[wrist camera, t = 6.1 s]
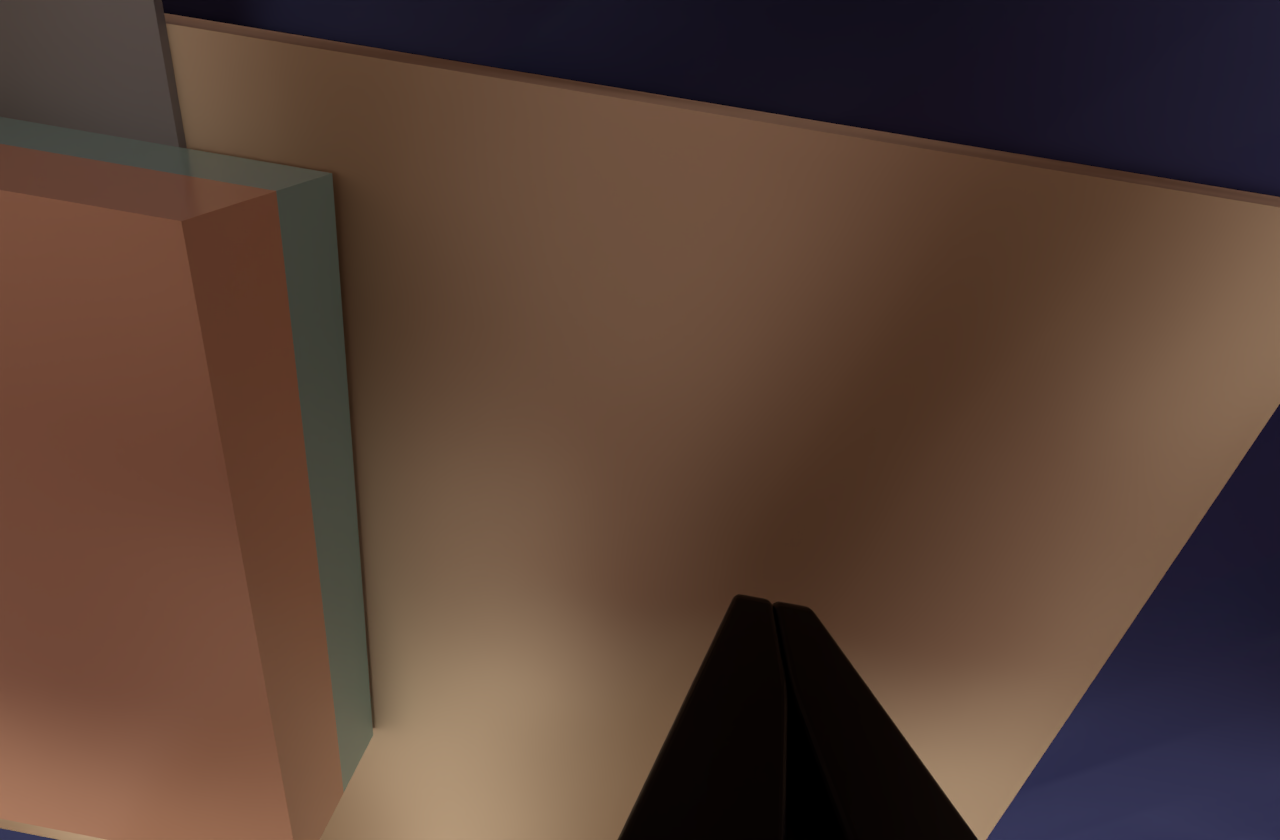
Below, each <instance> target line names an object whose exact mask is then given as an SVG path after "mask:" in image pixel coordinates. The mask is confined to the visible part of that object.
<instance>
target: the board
mask: <svg viewBox="0 0 1280 840" xmlns="http://www.w3.org/2000/svg"><path fill="white" fill-rule="evenodd" d="M0 117H5V118H11V119H17V120H23V121H28V122H34V123H40V124H46V125H52V126H58V127H64V128H70V129H75V130H81V131H87V132H93V133H99V134H105V135H111V136H117V137H122V138H128V139H134V140H140V141H146V142H152V143H158V144H164V145H170V146H175V147H181V148H187V149H193V150H199V151H205V152H211V153H217V154H222V155H228V156H234V157H240V158H246V159H252V160H258V161H264V162H269V163H275V164H281V165H287V166H293V167H299V168H305V169H311V170H316V171H322V172H328V173H332V177H333V191H334V205H335V218H336V232H337V246H338V259H339V273H340V287H341V301H342V314H343V328H344V342H345V355H346V369H347V383H348V397H349V410H350V424H351V438H352V451H353V465H354V479H355V493H356V506H357V520H358V534H359V548H360V561H361V575H362V589H363V602H364V616H365V630H366V644H367V657H368V671H369V685H370V698H371V712H372V726H373V736H372V738H371V740H370V742H369V744H368V746H367V748H366V750H365V752H364V754H363V756H362V758H361V760H360V762H359V764H358V766H357V768H356V770H355V772H354V774H353V776H352V778H351V779H350V781H349V783H348V785H347V787H346V789H345V791H344V793H343V795H342V797H341V799H340V801H339V803H338V805H337V807H336V809H335V811H334V813H333V815H332V817H331V819H330V821H329V822H328V824H327V826H326V828H325V830H324V832H323V834H322V836H321V838H320V840H617V839H618V837H619V835H620V833H621V831H622V829H623V827H624V825H625V822H626V820H627V818H628V816H629V814H630V812H631V810H632V808H633V806H634V804H635V802H636V799H637V797H638V795H639V793H640V791H641V789H642V787H643V785H644V783H645V781H646V779H647V776H648V774H649V772H650V770H651V768H652V766H653V764H654V762H655V760H656V758H657V756H658V753H659V751H660V749H661V747H662V745H663V743H664V741H665V739H666V737H667V735H668V733H669V730H670V728H671V726H672V724H673V722H674V720H675V718H676V716H677V714H678V712H679V709H680V707H681V705H682V703H683V701H684V699H685V697H686V695H687V693H688V691H689V689H690V686H691V684H692V682H693V680H694V678H695V676H696V674H697V672H698V670H699V668H700V666H701V663H702V661H703V659H704V657H705V655H706V653H707V651H708V649H709V647H710V645H711V643H712V640H713V638H714V636H715V634H716V632H717V630H718V628H719V626H720V624H721V622H722V620H723V617H724V615H725V613H726V611H727V609H728V607H729V605H730V603H731V601H732V599H733V597H734V596H735V595H737V594H742V595H748V596H753V597H758V598H764V599H767V600H769V601H770V602H771V603H772V604H773V603H775V602H777V601H780V602H786V603H791V604H797V605H802V606H806V607H809V608H810V609H812V610H813V611H814V612H815V614H816V615H817V616H818V618H819V619H820V621H821V622H822V623H823V625H824V626H825V628H826V629H827V630H828V632H829V633H830V634H831V636H832V637H833V639H834V640H835V641H836V643H837V644H838V646H839V647H840V648H841V650H842V651H843V653H844V654H845V655H846V657H847V658H848V659H849V661H850V662H851V664H852V665H853V666H854V668H855V669H856V671H857V672H858V673H859V675H860V676H861V678H862V679H863V680H864V682H865V683H866V684H867V686H868V687H869V689H870V690H871V691H872V693H873V694H874V696H875V697H876V698H877V700H878V701H879V703H880V704H881V705H882V707H883V708H884V709H885V711H886V712H887V714H888V715H889V716H890V718H891V719H892V721H893V722H894V723H895V725H896V726H897V728H898V729H899V730H900V732H901V733H902V734H903V736H904V737H905V739H906V740H907V741H908V743H909V744H910V746H911V747H912V748H913V750H914V751H915V753H916V754H917V755H918V757H919V758H920V759H921V761H922V762H923V764H924V765H925V766H926V768H927V769H928V771H929V772H930V773H931V775H932V776H933V778H934V779H935V780H936V782H937V783H938V784H939V786H940V787H941V789H942V790H943V791H944V793H945V794H946V796H947V797H948V798H949V800H950V801H951V803H952V804H953V805H954V807H955V808H956V810H957V811H958V812H959V814H960V815H961V816H962V818H963V819H964V821H965V822H966V823H967V825H968V826H969V828H970V829H971V830H972V832H973V833H974V835H975V836H976V837H977V839H978V840H986V839H987V837H988V836H989V834H990V833H991V831H992V830H993V828H994V827H995V825H996V824H997V822H998V821H999V819H1000V818H1001V817H1002V815H1003V814H1004V812H1005V811H1006V809H1007V808H1008V806H1009V805H1010V803H1011V802H1012V800H1013V799H1014V797H1015V796H1016V794H1017V793H1018V791H1019V790H1020V788H1021V787H1022V785H1023V784H1024V782H1025V781H1026V779H1027V778H1028V776H1029V775H1030V773H1031V772H1032V771H1033V769H1034V768H1035V766H1036V765H1037V763H1038V762H1039V760H1040V759H1041V757H1042V756H1043V754H1044V753H1045V751H1046V750H1047V748H1048V747H1049V745H1050V744H1051V742H1052V741H1053V739H1054V738H1055V736H1056V735H1057V733H1058V732H1059V730H1060V729H1061V727H1062V726H1063V725H1064V723H1065V722H1066V720H1067V719H1068V717H1069V716H1070V714H1071V713H1072V711H1073V710H1074V708H1075V707H1076V705H1077V704H1078V702H1079V701H1080V699H1081V698H1082V696H1083V695H1084V693H1085V692H1086V690H1087V689H1088V687H1089V686H1090V684H1091V683H1092V681H1093V680H1094V679H1095V677H1096V676H1097V674H1098V673H1099V671H1100V670H1101V668H1102V667H1103V665H1104V664H1105V662H1106V661H1107V659H1108V658H1109V656H1110V655H1111V653H1112V652H1113V650H1114V649H1115V647H1116V646H1117V644H1118V643H1119V641H1120V640H1121V638H1122V637H1123V635H1124V634H1125V633H1126V631H1127V630H1128V628H1129V627H1130V625H1131V624H1132V622H1133V621H1134V619H1135V618H1136V616H1137V615H1138V613H1139V612H1140V610H1141V609H1142V607H1143V606H1144V604H1145V603H1146V601H1147V600H1148V598H1149V597H1150V595H1151V594H1152V592H1153V591H1154V590H1155V588H1156V587H1157V585H1158V584H1159V582H1160V581H1161V579H1162V578H1163V576H1164V575H1165V573H1166V572H1167V570H1168V569H1169V567H1170V566H1171V564H1172V563H1173V561H1174V560H1175V558H1176V557H1177V555H1178V554H1179V552H1180V551H1181V549H1182V548H1183V546H1184V545H1185V544H1186V542H1187V541H1188V539H1189V538H1190V536H1191V535H1192V533H1193V532H1194V530H1195V529H1196V527H1197V526H1198V524H1199V523H1200V521H1201V520H1202V518H1203V517H1204V515H1205V514H1206V512H1207V511H1208V509H1209V508H1210V506H1211V505H1212V503H1213V502H1214V500H1215V499H1216V498H1217V496H1218V495H1219V493H1220V492H1221V490H1222V489H1223V487H1224V486H1225V484H1226V483H1227V481H1228V480H1229V478H1230V477H1231V475H1232V474H1233V472H1234V471H1235V469H1236V468H1237V466H1238V465H1239V463H1240V462H1241V460H1242V459H1243V457H1244V456H1245V454H1246V453H1247V452H1248V450H1249V449H1250V447H1251V446H1252V444H1253V443H1254V441H1255V440H1256V438H1257V437H1258V435H1259V434H1260V432H1261V431H1262V429H1263V428H1264V426H1265V425H1266V423H1267V422H1268V420H1269V419H1270V417H1271V416H1272V414H1273V413H1274V411H1275V410H1276V408H1277V407H1278V406H1279V404H1280V197H1277V196H1271V195H1265V194H1259V193H1252V192H1246V191H1240V190H1234V189H1228V188H1222V187H1216V186H1210V185H1204V184H1198V183H1192V182H1186V181H1180V180H1174V179H1168V178H1162V177H1155V176H1149V175H1143V174H1137V173H1131V172H1125V171H1119V170H1113V169H1107V168H1101V167H1095V166H1089V165H1083V164H1077V163H1071V162H1065V161H1058V160H1052V159H1046V158H1040V157H1034V156H1028V155H1022V154H1016V153H1010V152H1004V151H998V150H992V149H986V148H980V147H974V146H968V145H961V144H955V143H949V142H943V141H937V140H931V139H925V138H919V137H913V136H907V135H901V134H895V133H889V132H883V131H877V130H871V129H864V128H858V127H852V126H846V125H840V124H834V123H828V122H822V121H816V120H810V119H804V118H798V117H792V116H786V115H780V114H774V113H767V112H761V111H755V110H749V109H743V108H737V107H731V106H725V105H719V104H713V103H707V102H701V101H695V100H689V99H683V98H677V97H670V96H664V95H658V94H652V93H646V92H640V91H634V90H628V89H622V88H616V87H610V86H604V85H598V84H592V83H586V82H580V81H573V80H567V79H561V78H555V77H549V76H543V75H537V74H531V73H525V72H519V71H513V70H507V69H501V68H495V67H489V66H483V65H476V64H470V63H464V62H458V61H452V60H446V59H440V58H434V57H428V56H422V55H416V54H410V53H404V52H398V51H392V50H386V49H379V48H373V47H367V46H361V45H355V44H349V43H343V42H337V41H331V40H325V39H319V38H313V37H307V36H301V35H295V34H289V33H282V32H276V31H270V30H264V29H258V28H252V27H246V26H240V25H234V24H228V23H222V22H216V21H210V20H204V19H198V18H192V17H185V16H179V15H173V14H167V13H164V10H163V4H162V0H0ZM0 828H3V829H8V830H13V831H18V832H23V833H28V834H33V835H38V836H43V837H48V838H53V839H58V840H106V839H101V838H96V837H91V836H86V835H81V834H76V833H71V832H66V831H61V830H55V829H50V828H45V827H40V826H35V825H30V824H25V823H20V822H15V821H10V820H5V819H0Z"/></svg>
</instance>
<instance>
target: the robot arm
mask: <svg viewBox="0 0 1280 840" xmlns="http://www.w3.org/2000/svg"><path fill="white" fill-rule="evenodd" d="M617 840H978V839H977V837H976V836H975V835H974V833H973V832H972V830H971V829H970V828H969V826H968V825H967V823H966V822H965V821H964V819H963V818H962V816H961V815H960V814H959V812H958V811H957V810H956V808H955V807H954V805H953V804H952V803H951V801H950V800H949V798H948V797H947V796H946V794H945V793H944V791H943V790H942V789H941V787H940V786H939V784H938V783H937V782H936V780H935V779H934V778H933V776H932V775H931V773H930V772H929V771H928V769H927V768H926V766H925V765H924V764H923V762H922V761H921V759H920V758H919V757H918V755H917V754H916V753H915V751H914V750H913V748H912V747H911V746H910V744H909V743H908V741H907V740H906V739H905V737H904V736H903V734H902V733H901V732H900V730H899V729H898V728H897V726H896V725H895V723H894V722H893V721H892V719H891V718H890V716H889V715H888V714H887V712H886V711H885V709H884V708H883V707H882V705H881V704H880V703H879V701H878V700H877V698H876V697H875V696H874V694H873V693H872V691H871V690H870V689H869V687H868V686H867V684H866V683H865V682H864V680H863V679H862V678H861V676H860V675H859V673H858V672H857V671H856V669H855V668H854V666H853V665H852V664H851V662H850V661H849V659H848V658H847V657H846V655H845V654H844V653H843V651H842V650H841V648H840V647H839V646H838V644H837V643H836V641H835V640H834V639H833V637H832V636H831V634H830V633H829V632H828V630H827V629H826V628H825V626H824V625H823V623H822V622H821V621H820V619H819V618H818V616H817V615H816V614H815V612H814V611H813V610H812V609H810V608H809V607H806V606H802V605H797V604H791V603H786V602H780V601H777V602H775V603H773V604H772V603H771V602H770V601H769V600H767V599H764V598H758V597H753V596H748V595H742V594H737V595H735V596H734V597H733V599H732V601H731V603H730V605H729V607H728V609H727V611H726V613H725V615H724V617H723V620H722V622H721V624H720V626H719V628H718V630H717V632H716V634H715V636H714V638H713V640H712V643H711V645H710V647H709V649H708V651H707V653H706V655H705V657H704V659H703V661H702V663H701V666H700V668H699V670H698V672H697V674H696V676H695V678H694V680H693V682H692V684H691V686H690V689H689V691H688V693H687V695H686V697H685V699H684V701H683V703H682V705H681V707H680V709H679V712H678V714H677V716H676V718H675V720H674V722H673V724H672V726H671V728H670V730H669V733H668V735H667V737H666V739H665V741H664V743H663V745H662V747H661V749H660V751H659V753H658V756H657V758H656V760H655V762H654V764H653V766H652V768H651V770H650V772H649V774H648V776H647V779H646V781H645V783H644V785H643V787H642V789H641V791H640V793H639V795H638V797H637V799H636V802H635V804H634V806H633V808H632V810H631V812H630V814H629V816H628V818H627V820H626V822H625V825H624V827H623V829H622V831H621V833H620V835H619V837H618V839H617Z"/></svg>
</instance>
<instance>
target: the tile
mask: <svg viewBox="0 0 1280 840" xmlns="http://www.w3.org/2000/svg"><path fill="white" fill-rule="evenodd" d="M372 736H373V726H372V712H371V698H370V685H369V671H368V657H367V644H366V630H365V616H364V602H363V589H362V575H361V561H360V548H359V534H358V520H357V506H356V493H355V479H354V465H353V451H352V438H351V424H350V410H349V397H348V383H347V369H346V355H345V342H344V328H343V314H342V301H341V287H340V273H339V259H338V246H337V232H336V218H335V205H334V191H333V177H332V173H328V172H322V171H316V170H311V169H305V168H299V167H293V166H287V165H281V164H275V163H269V162H264V161H258V160H252V159H246V158H240V157H234V156H228V155H222V154H217V153H211V152H205V151H199V150H193V149H187V148H181V147H175V146H170V145H164V144H158V143H152V142H146V141H140V140H134V139H128V138H122V137H117V136H111V135H105V134H99V133H93V132H87V131H81V130H75V129H70V128H64V127H58V126H52V125H46V124H40V123H34V122H28V121H23V120H17V119H11V118H5V117H0V819H5V820H10V821H15V822H20V823H25V824H30V825H35V826H40V827H45V828H50V829H55V830H61V831H66V832H71V833H76V834H81V835H86V836H91V837H96V838H101V839H106V840H320V838H321V836H322V834H323V832H324V830H325V828H326V826H327V824H328V822H329V821H330V819H331V817H332V815H333V813H334V811H335V809H336V807H337V805H338V803H339V801H340V799H341V797H342V795H343V793H344V791H345V789H346V787H347V785H348V783H349V781H350V779H351V778H352V776H353V774H354V772H355V770H356V768H357V766H358V764H359V762H360V760H361V758H362V756H363V754H364V752H365V750H366V748H367V746H368V744H369V742H370V740H371V738H372Z"/></svg>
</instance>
